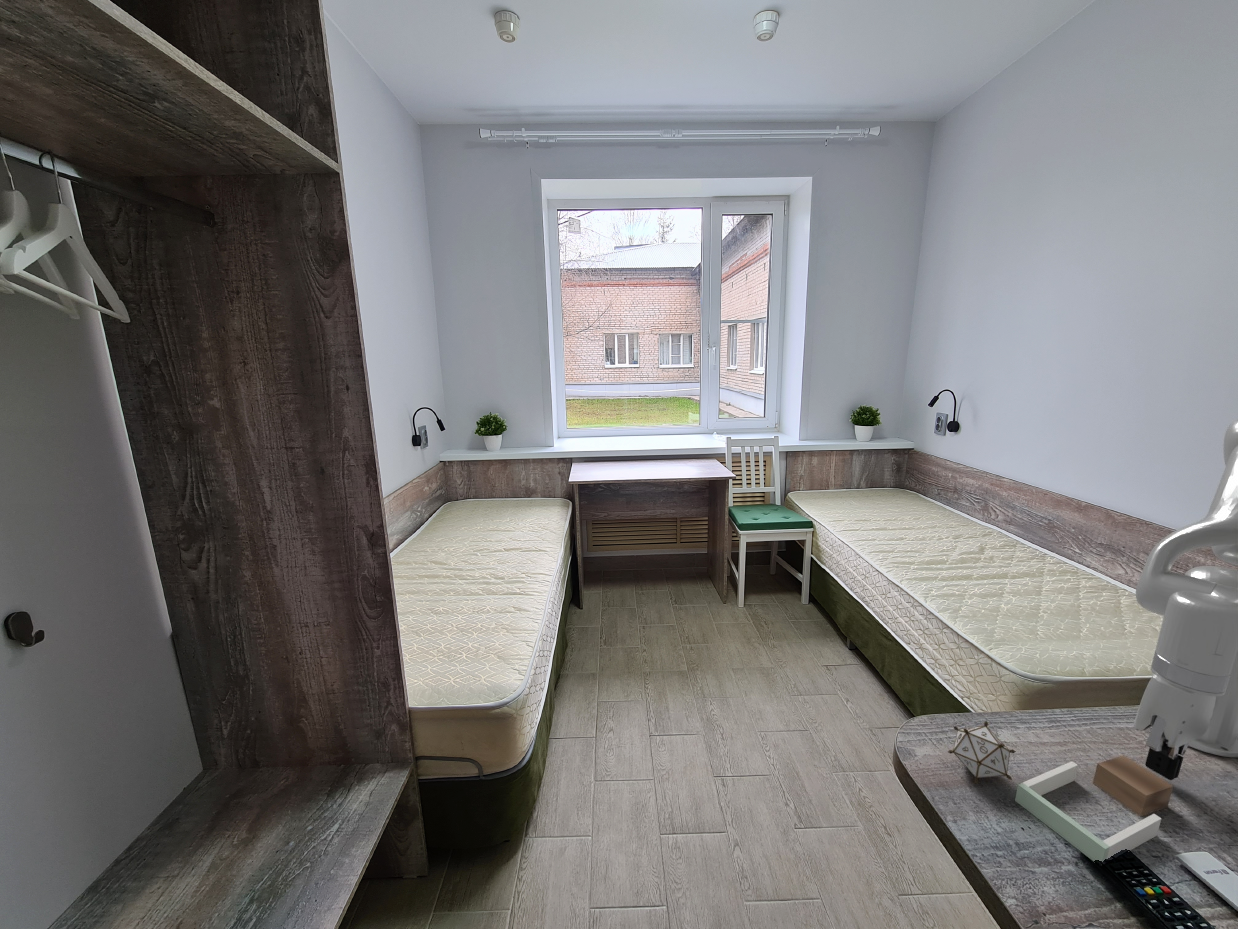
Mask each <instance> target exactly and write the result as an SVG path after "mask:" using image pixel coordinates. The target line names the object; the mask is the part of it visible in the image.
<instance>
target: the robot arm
mask: <svg viewBox="0 0 1238 929" xmlns="http://www.w3.org/2000/svg"><path fill="white" fill-rule="evenodd" d="M1223 459H1224V465H1225V468H1224V470H1223V473H1222V475H1221V478H1220V482H1219V483H1218V485H1217V489H1216V491H1215V494H1214V496H1213V499H1212V501H1211V504H1210V506H1209V508H1208V512H1207V514H1206V515H1205V517H1204V518H1203V519H1200V520H1199V521H1196V522H1193V523H1191V524H1188V525H1185V526H1183V527H1181V528H1178V529H1177V530H1174V531H1173V532H1171V533H1169V534H1168V535H1166V536H1165V537H1163V538H1162V539H1161V540H1160V541H1159V542H1157V543H1156V544H1155V546H1154V547H1153V548H1152V550H1151V551H1150V552H1149V554H1148V556H1147V559H1146V562H1145V564H1144V565H1143V566H1144V567H1143V568H1142V571H1141V573H1140V576H1139V578H1138V581H1137V584H1136V590H1135V598H1136V602H1137V603H1138V604H1139V605H1140V606H1141V607H1142V608H1143V609H1144V610H1147V611H1149V612H1151V613H1153V614H1157V615H1159V616H1163V620H1162V623H1161V627H1160V630H1159V631H1160V632H1159V634H1158V639H1157V642H1156V647H1155V649H1154V650H1155V651H1154V653H1153V658H1152V662H1151V666H1150V671H1151V673H1152V674H1153V675H1152V676H1151V678H1150V680H1149V682H1148V683H1147V686H1146V687H1145V690H1144V692H1143V695H1142V698H1141V700H1140V704H1139V706H1138V709H1137V712H1136V714H1135V719H1134V721H1133V727H1134V729H1135V730H1136V731H1140V732H1142V731H1145V730H1147V729H1150V728H1151V730H1150V733H1149V735H1148V737H1147V740H1146V741H1145V746H1146V747H1148V748H1149V749H1148V752H1147V756H1146V760H1145V762H1144V764H1145V766H1146V767H1147V769H1150V770H1151V771H1153V772H1155V773H1156V774H1158V775H1160V776H1161V777H1163V778H1165V779H1167V780H1169V781H1173V780H1175V779H1177V778H1179V776H1180V775H1179V774H1180V771H1181V768H1182V765H1183V762H1184V757H1183V756H1185V754H1186V752H1187V750H1188V747H1190V748H1192V749H1196V750H1197V751H1201V752H1204V753H1206V754H1212V755H1215V756H1221V757H1228V758H1238V569H1235V568H1230V567H1223V566H1215V565H1201V566H1200V565H1199V566H1195V567H1193V568H1190V569H1189V570H1187V571H1186V572H1185V573H1184V574H1183V573H1179V572H1175V571H1171V569H1172V567H1173V565H1174V563H1175V562H1176V561H1177V559H1178V558H1181V556H1182V555H1185V554H1187V553H1189V552H1192V551H1195V550H1198V549H1202V548H1209V547H1211V551H1212V552H1213V555H1215V557H1216V558H1218V559H1219V560H1221V561H1223V562H1224V563H1227V564H1230V565H1234V566H1237V567H1238V419H1237V420H1234V421H1233V422H1232V423H1231V424H1230V425H1229V426H1228V427H1227V429H1226V430H1225V433H1224V439H1223Z"/></svg>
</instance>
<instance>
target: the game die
mask: <svg viewBox="0 0 1238 929" xmlns="http://www.w3.org/2000/svg"><path fill="white" fill-rule="evenodd" d="M983 724H984V725H981V726H974V727H966V728H960V729H959V728H958V726H956V725H953V726H952V727H953V729H954V730H955V731H957V732H956V735H955V739H954V744H953V749H948V751H947V753H949V754H951V755H952V754H954V755H955V756H956V757H957V758H958V760H959V761H960V762H961V764H963V766H964V767H965V768H967V769H968V771H969V772H970V773H971V774H972V775H973V777H974V778H973V781H974V784H975V785H976V784H977V783H978V781H979V779H985V778H996V777H1004V776H1005V777H1006V778H1007V779H1008V780H1010V781H1013V779H1012V776H1011V775H1009V774H1008V772H1009V762H1010V756H1011V754H1015V753H1016V750H1014V749H1013V748H1012V749H1009V748H1008V747H1007V746H1006V744H1004V743H1003V742H1002V741H1001V740H1000V739H999V738H998V737H997V736H996V735H995V733H993V731H991V729H990V728H989V727H988V725H989V723H988V720H986V721H984V722H983Z"/></svg>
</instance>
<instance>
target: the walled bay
mask: <svg viewBox="0 0 1238 929" xmlns="http://www.w3.org/2000/svg"><path fill="white" fill-rule="evenodd" d="M1078 766H1079V765H1078V764H1077V763H1075V762H1074V761H1071V760H1070V761H1069V762H1067V763H1065V764H1062V765H1059V766H1058V767H1056V768H1053V769H1051V770H1048V771H1046V772H1043V773H1042V774H1039V775H1037V776H1035V777H1032V778H1030V779H1028V780H1025V781H1023V782H1020V783H1018V784H1017V788H1016V794H1015V797H1014V798H1015V799H1014V802H1016V803H1017V804H1019V805H1020V806H1021V807H1023V808H1024V809H1025V810H1027V812H1029V813H1030V814H1032V816H1034V817H1036V818H1037V819H1038V820H1040V822H1042V823H1043V824H1045V825H1046V826H1047V827H1049V828H1050V829H1051V830H1053V832H1055V833H1056V834H1057V835H1059V836H1060V837H1061V838H1063V839H1064V840H1065V841H1067V842H1068V843H1069V844H1071V846H1073V847H1074V848H1076V849H1077V850H1078V851H1079V852H1081V853H1082V854H1083V855H1085V856H1086V858H1087V857H1088V858H1089V859H1090V860H1091V861H1092V862H1094V861H1095V860H1099V861H1102V862H1103V861H1104V860H1105V859H1108V858H1110V857H1111V856H1113V855H1114V854H1116V853H1118V852H1120V851H1121V850H1125V849H1127V850H1130V851H1132V850H1133V849H1136V848H1137V847H1139V846H1140V845H1143V844H1145V843H1146V842H1148V841H1150V840H1152V839H1153V838H1155V837H1157V836H1158V833H1159V829H1160V826H1161V822H1162V818H1161V817H1160V816H1158V815H1157V814H1155V813H1152V814H1151V815H1148V816H1147V817H1145V818H1143V819H1141V820H1140V821H1137V822H1135V823H1134V824H1132V825H1130V826H1128V827H1126V828H1124V829H1123V830H1121V831H1118V832H1117V833H1115V834H1113V835H1111V836H1109V837H1107V838H1106V839H1104V840H1102V839H1100V838H1099V837H1098V836H1096V835H1095V834H1093V832H1091V831H1090V830H1088V829H1087V828H1085V827H1084V826H1082V825H1081V824H1080V823H1079V822H1077V821H1076V820H1074V819H1073V818H1072V817H1070V816H1069V815H1068V814H1066V813H1064V812H1063V811H1062V810H1061V809H1059V808H1058V807H1057V806H1055V805H1054V804H1052V803H1051V802H1050V801H1048V800H1047V799H1046V798H1044V797H1043V796H1044V795H1045V794H1046V795H1047V794H1048V793H1050V792H1053V791H1054V790H1056V789H1059V788H1061V787H1064V786H1066V785H1067V784H1070V783H1072V782H1074V781H1075V778H1076V775H1077V772H1078V771H1077V770H1078Z"/></svg>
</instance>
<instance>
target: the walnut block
mask: <svg viewBox="0 0 1238 929" xmlns="http://www.w3.org/2000/svg"><path fill="white" fill-rule="evenodd" d="M1092 784H1093V785H1094V786H1096V787H1097V788H1099V789H1100V790H1102V791H1103V792H1105V793H1106V794H1107V795H1109V796H1110V797H1112V798H1113V799H1115V800H1116V801H1117V802H1118V803H1120V804H1122V805H1123V806H1124V807H1126V808H1128V809H1129V810H1130V811H1132V812H1133V813H1135V814H1137V816H1140V818H1141V817H1143V816H1146V815H1149V814H1151V813H1152V814H1153V813H1154V812H1158V811H1159V810H1163V809H1166V808H1168V807H1169V803H1170V799H1171V796H1172V792H1173V790H1174V789H1173V788H1174V785H1172V784H1171V783H1169V782H1168V781H1166V780H1164V779H1163V778H1161V777H1160V776H1158V775H1156V774H1155V773H1153V772H1152V771H1150V770H1148V768H1145V767H1143V766H1141V765H1140V764H1138V763H1137V762H1135V761H1134V760H1133V759H1130V758H1129V757H1127V756H1125V755H1121V756H1118V757H1113V758H1109V759H1108V760H1104V761H1100V762H1097V764H1096V768H1095V773H1094V776H1093V780H1092Z"/></svg>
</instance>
